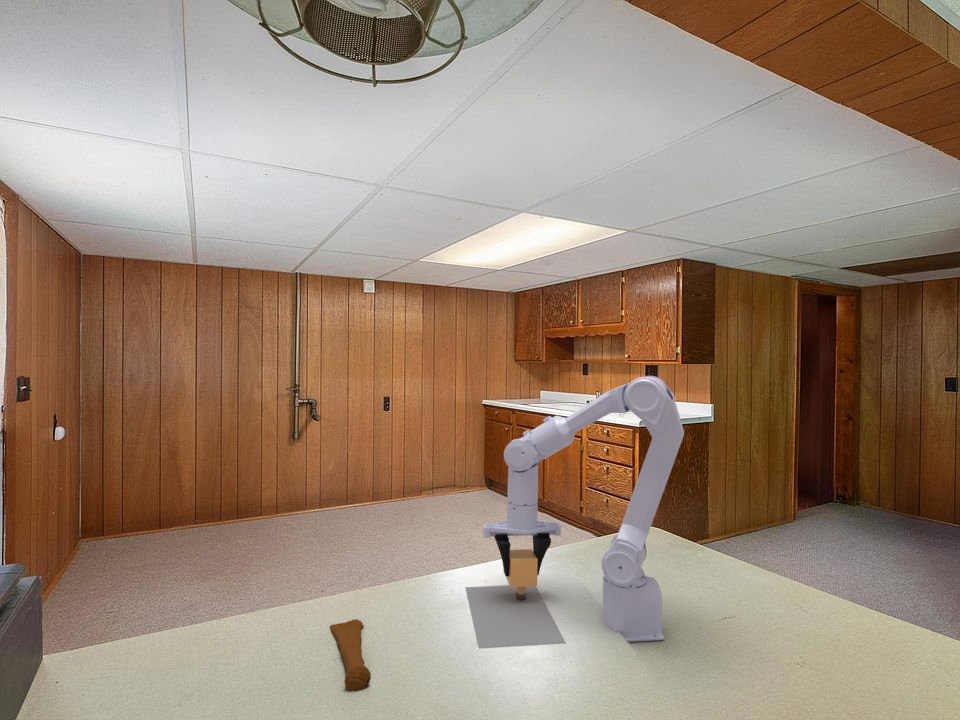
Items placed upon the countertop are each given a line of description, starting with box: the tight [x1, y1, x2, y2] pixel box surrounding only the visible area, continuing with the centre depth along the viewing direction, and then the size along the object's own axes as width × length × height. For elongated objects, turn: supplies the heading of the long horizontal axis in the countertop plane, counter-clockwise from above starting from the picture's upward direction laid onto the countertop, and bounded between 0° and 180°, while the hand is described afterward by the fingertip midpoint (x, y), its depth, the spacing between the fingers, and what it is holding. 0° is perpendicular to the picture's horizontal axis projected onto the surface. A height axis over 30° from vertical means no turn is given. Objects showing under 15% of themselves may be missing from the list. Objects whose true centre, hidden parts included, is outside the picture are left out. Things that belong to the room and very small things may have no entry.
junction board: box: [465, 584, 567, 649], centre depth 90 cm, size 14×21×4 cm, turn 7°
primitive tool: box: [329, 618, 372, 692], centre depth 80 cm, size 19×6×4 cm, turn 23°
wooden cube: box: [505, 548, 538, 587], centre depth 95 cm, size 5×5×5 cm
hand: (521, 573), depth 95 cm, fingers closed on wooden cube, 5 cm apart
